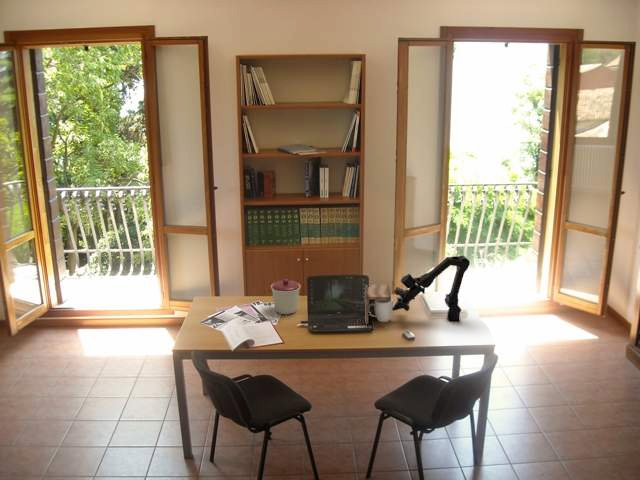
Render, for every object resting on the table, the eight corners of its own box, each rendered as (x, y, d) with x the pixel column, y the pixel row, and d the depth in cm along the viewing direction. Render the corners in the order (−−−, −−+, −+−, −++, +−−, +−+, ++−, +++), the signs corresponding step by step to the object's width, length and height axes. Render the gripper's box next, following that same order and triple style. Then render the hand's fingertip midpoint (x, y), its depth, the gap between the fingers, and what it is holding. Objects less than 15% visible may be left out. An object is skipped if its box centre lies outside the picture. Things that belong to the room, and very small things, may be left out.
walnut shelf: (387, 312, 371) (388, 284, 366) (389, 326, 352) (390, 297, 347) (364, 312, 372) (365, 284, 367) (365, 326, 353) (366, 296, 347)
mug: (367, 323, 357) (366, 302, 354) (368, 316, 368) (368, 295, 364) (392, 323, 355) (392, 303, 351) (393, 316, 365) (393, 296, 362)
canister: (302, 306, 381) (302, 274, 375) (298, 317, 364) (298, 284, 358) (274, 304, 383) (273, 273, 377) (268, 316, 365) (268, 283, 359)
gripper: (401, 278, 363) (382, 294, 366) (404, 289, 345) (384, 307, 348) (413, 290, 365) (394, 307, 368) (417, 302, 347) (397, 319, 350)
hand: (392, 309), depth 359 cm, fingers closed, pressing on mug
